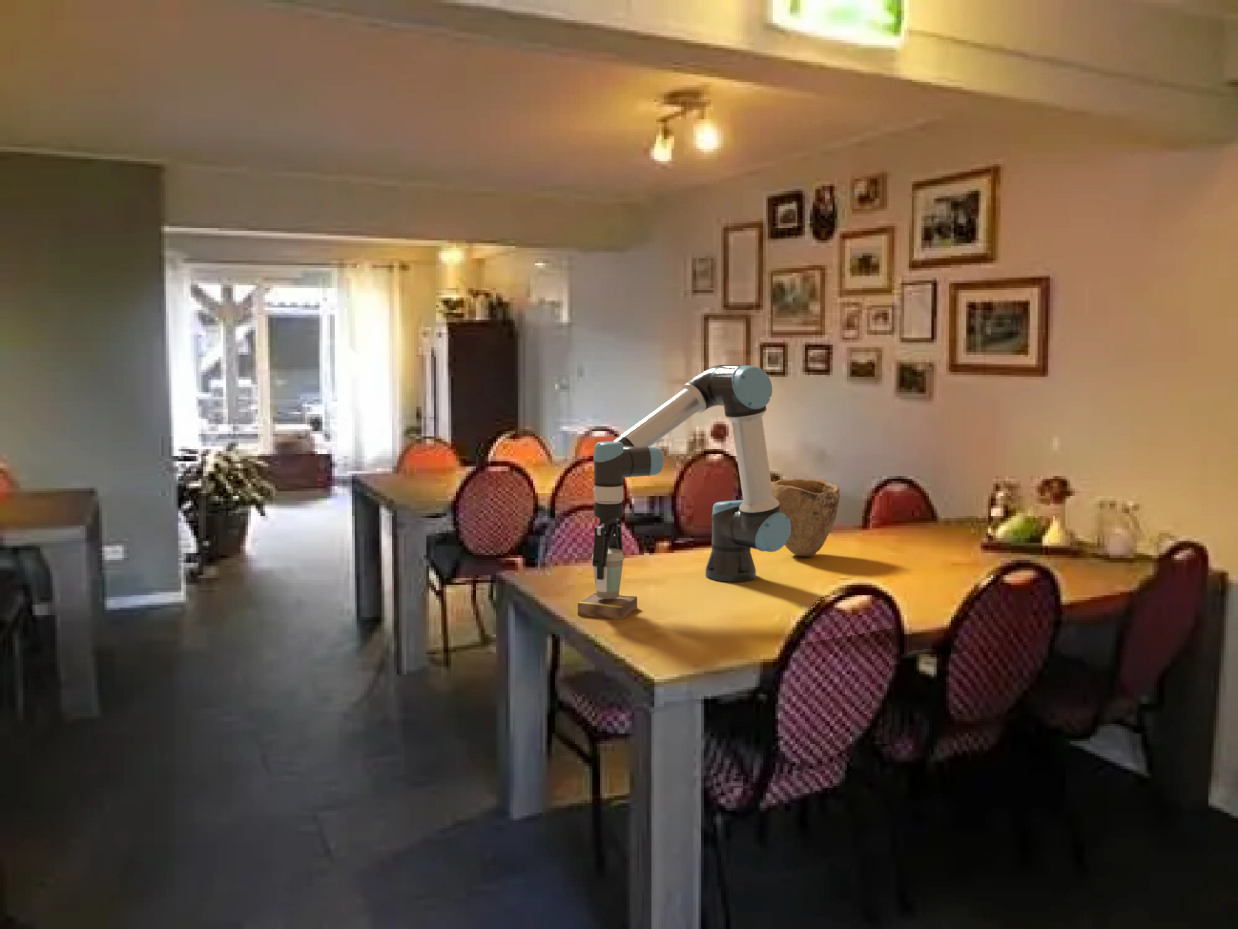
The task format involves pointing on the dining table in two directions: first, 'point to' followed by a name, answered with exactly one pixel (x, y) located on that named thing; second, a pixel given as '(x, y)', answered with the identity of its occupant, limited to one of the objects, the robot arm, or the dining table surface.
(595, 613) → the block
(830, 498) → the ancient clay pot
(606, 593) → the coffee cup
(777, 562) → the dining table surface
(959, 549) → the dining table surface
